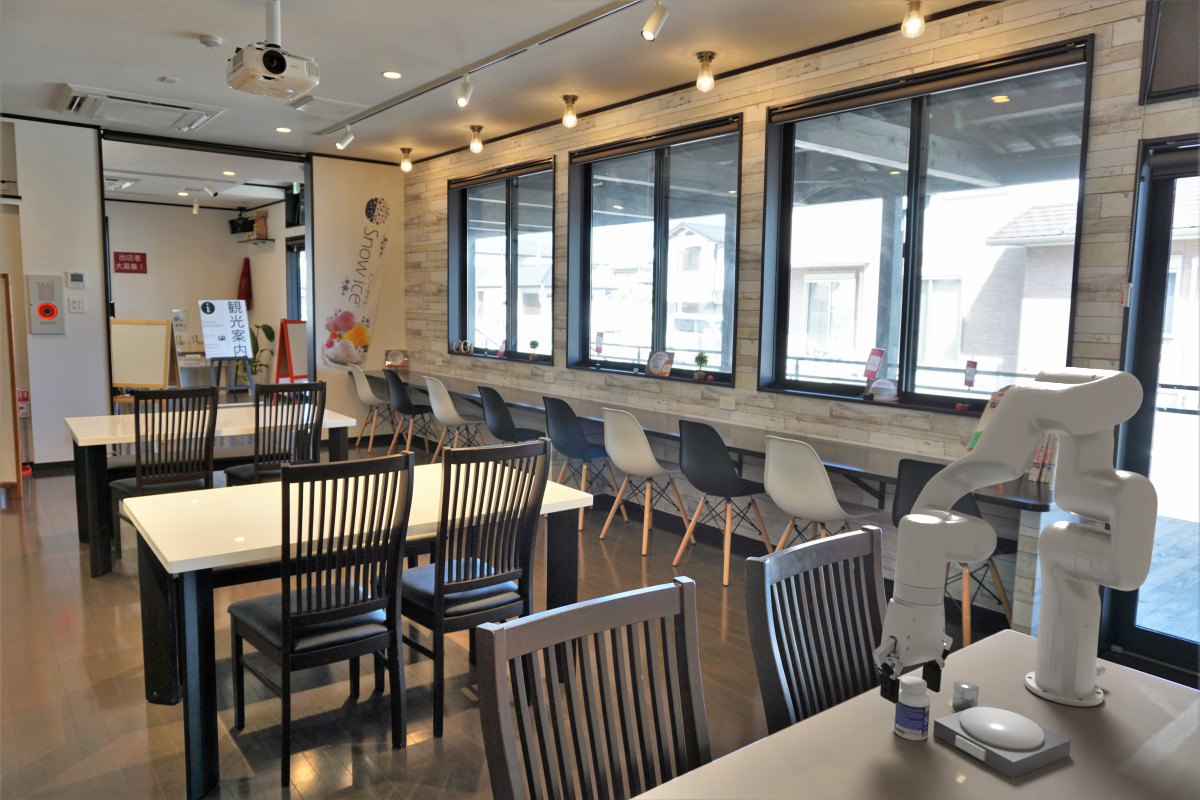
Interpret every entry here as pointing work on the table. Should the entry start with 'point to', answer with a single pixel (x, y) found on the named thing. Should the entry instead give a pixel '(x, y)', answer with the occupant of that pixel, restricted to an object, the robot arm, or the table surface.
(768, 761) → the table surface
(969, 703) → the cylinder
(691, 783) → the table surface
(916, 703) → the pill bottle
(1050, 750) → the scale
